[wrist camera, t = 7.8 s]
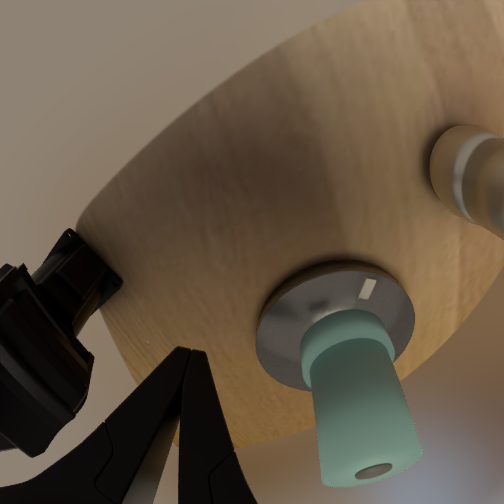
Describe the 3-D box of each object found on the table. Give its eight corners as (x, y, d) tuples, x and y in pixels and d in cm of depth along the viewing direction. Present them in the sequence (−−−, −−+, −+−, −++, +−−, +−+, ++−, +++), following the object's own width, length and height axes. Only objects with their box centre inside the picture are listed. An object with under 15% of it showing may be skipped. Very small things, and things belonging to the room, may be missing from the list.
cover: (326, 381, 25) (343, 496, 15) (281, 340, 22) (288, 479, 12) (396, 344, 22) (439, 458, 12) (363, 292, 20) (417, 432, 10)
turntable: (310, 399, 27) (311, 409, 26) (221, 326, 23) (219, 337, 22) (427, 335, 23) (432, 345, 22) (370, 230, 19) (376, 238, 18)
